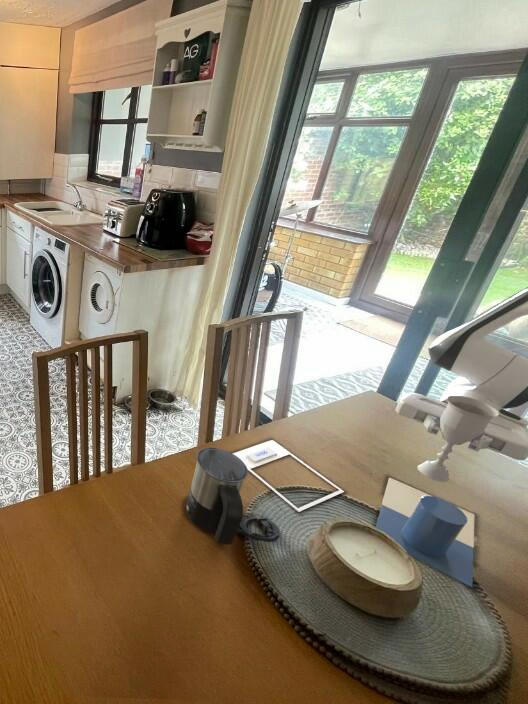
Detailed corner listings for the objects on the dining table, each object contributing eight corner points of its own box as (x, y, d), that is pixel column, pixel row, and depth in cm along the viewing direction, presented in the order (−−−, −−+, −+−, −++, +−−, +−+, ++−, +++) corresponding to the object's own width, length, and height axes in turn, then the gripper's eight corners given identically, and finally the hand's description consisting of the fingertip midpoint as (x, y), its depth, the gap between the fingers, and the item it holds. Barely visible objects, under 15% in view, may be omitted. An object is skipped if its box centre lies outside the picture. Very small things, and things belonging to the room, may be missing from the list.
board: (387, 480, 96) (389, 477, 95) (472, 517, 86) (474, 514, 86) (371, 539, 82) (373, 536, 81) (470, 591, 73) (472, 587, 72)
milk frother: (174, 502, 90) (187, 450, 83) (237, 490, 93) (254, 439, 86) (216, 563, 77) (234, 507, 71) (287, 547, 80) (311, 493, 74)
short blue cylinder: (424, 527, 83) (444, 496, 79) (454, 557, 77) (477, 525, 73) (392, 527, 83) (411, 495, 79) (420, 557, 77) (441, 524, 74)
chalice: (448, 467, 90) (488, 401, 82) (462, 490, 85) (507, 420, 77) (406, 457, 93) (440, 392, 85) (417, 478, 87) (456, 410, 80)
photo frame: (272, 439, 106) (344, 490, 91) (271, 442, 107) (342, 494, 92) (230, 453, 101) (299, 511, 86) (229, 457, 102) (297, 514, 87)
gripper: (409, 380, 98) (394, 402, 90) (540, 424, 83) (536, 454, 76) (399, 402, 100) (383, 425, 93) (524, 448, 86) (518, 480, 78)
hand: (453, 439), depth 84 cm, fingers closed on chalice, 5 cm apart
